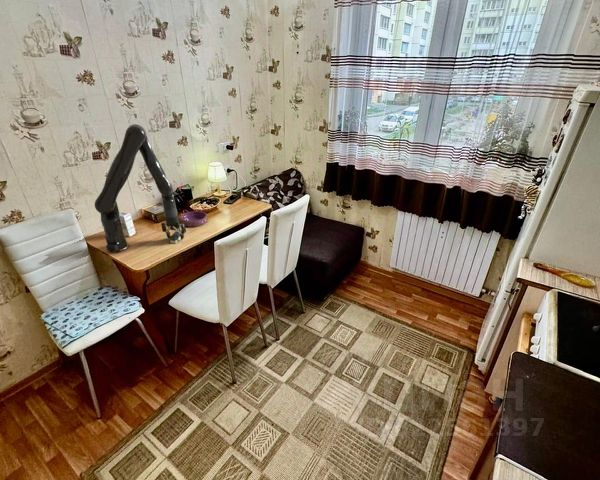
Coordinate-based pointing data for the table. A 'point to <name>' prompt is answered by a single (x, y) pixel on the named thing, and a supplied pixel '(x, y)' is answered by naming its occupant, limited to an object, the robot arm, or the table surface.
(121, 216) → the syrup box
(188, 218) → the bowl
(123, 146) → the robot arm
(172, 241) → the eraser
